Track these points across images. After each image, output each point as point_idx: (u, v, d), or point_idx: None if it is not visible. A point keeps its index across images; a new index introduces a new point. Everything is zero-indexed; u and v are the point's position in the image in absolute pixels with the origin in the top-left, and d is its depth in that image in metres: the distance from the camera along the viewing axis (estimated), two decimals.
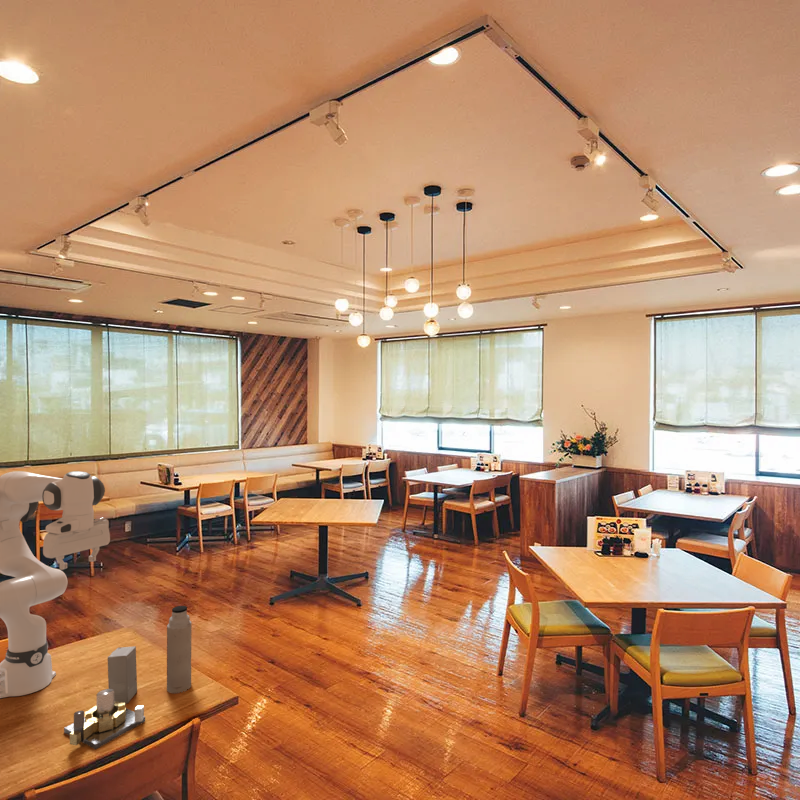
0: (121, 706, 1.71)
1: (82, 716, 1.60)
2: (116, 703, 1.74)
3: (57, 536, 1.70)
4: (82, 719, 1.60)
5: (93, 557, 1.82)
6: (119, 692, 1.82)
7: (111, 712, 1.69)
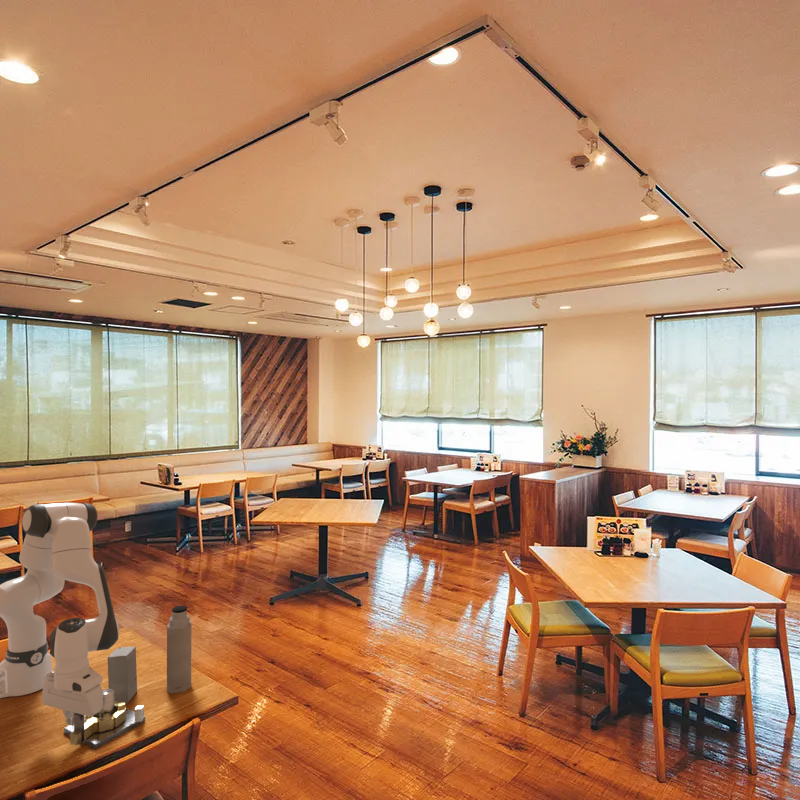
0: (121, 706, 1.71)
1: (82, 716, 1.60)
2: (116, 703, 1.74)
3: None
4: (82, 719, 1.60)
5: None
6: (119, 692, 1.82)
7: (111, 712, 1.69)
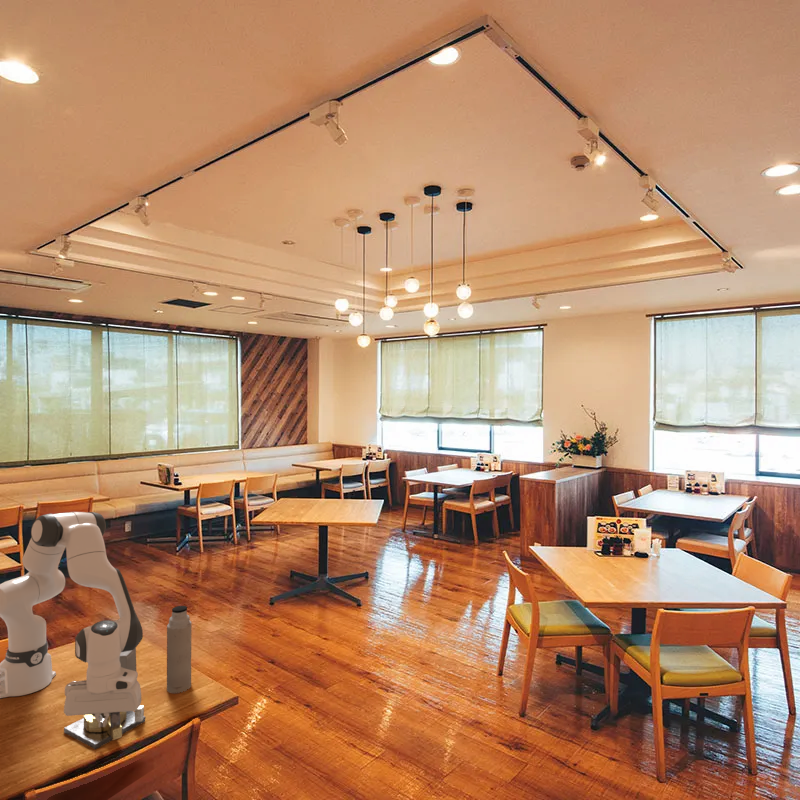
0: None
1: None
2: None
3: None
4: None
5: None
6: None
7: None
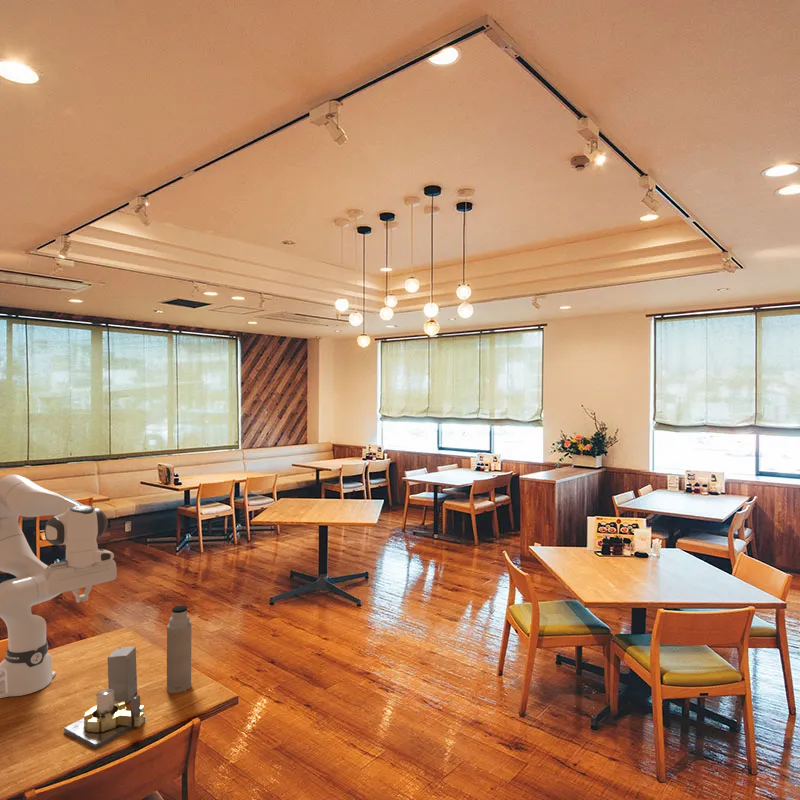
0: None
1: None
2: (91, 710, 1.70)
3: None
4: None
5: None
6: (119, 692, 1.82)
7: (111, 712, 1.69)
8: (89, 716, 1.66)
